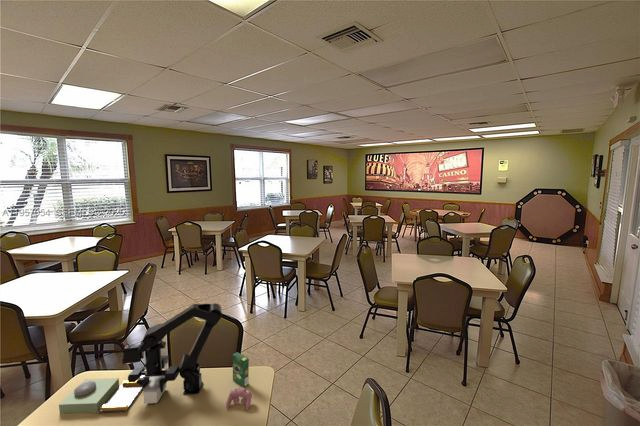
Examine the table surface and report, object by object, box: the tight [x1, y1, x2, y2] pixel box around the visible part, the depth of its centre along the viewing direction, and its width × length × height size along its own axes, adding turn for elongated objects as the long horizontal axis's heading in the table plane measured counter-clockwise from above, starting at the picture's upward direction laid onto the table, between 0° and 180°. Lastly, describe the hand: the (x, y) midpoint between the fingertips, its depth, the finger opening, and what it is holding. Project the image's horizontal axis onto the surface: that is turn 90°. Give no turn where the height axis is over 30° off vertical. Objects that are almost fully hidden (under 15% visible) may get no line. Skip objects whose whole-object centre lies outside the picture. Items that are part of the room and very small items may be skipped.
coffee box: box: [232, 351, 250, 388], centre depth 131 cm, size 8×3×13 cm, turn 57°
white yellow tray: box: [98, 379, 144, 414], centre depth 121 cm, size 10×15×2 cm, turn 4°
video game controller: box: [225, 387, 253, 411], centre depth 119 cm, size 10×5×7 cm, turn 85°
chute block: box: [142, 376, 168, 405], centre depth 122 cm, size 5×9×6 cm, turn 5°
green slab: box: [58, 377, 120, 415], centre depth 120 cm, size 14×14×6 cm
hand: (155, 392), depth 122 cm, fingers closed on chute block, 5 cm apart
